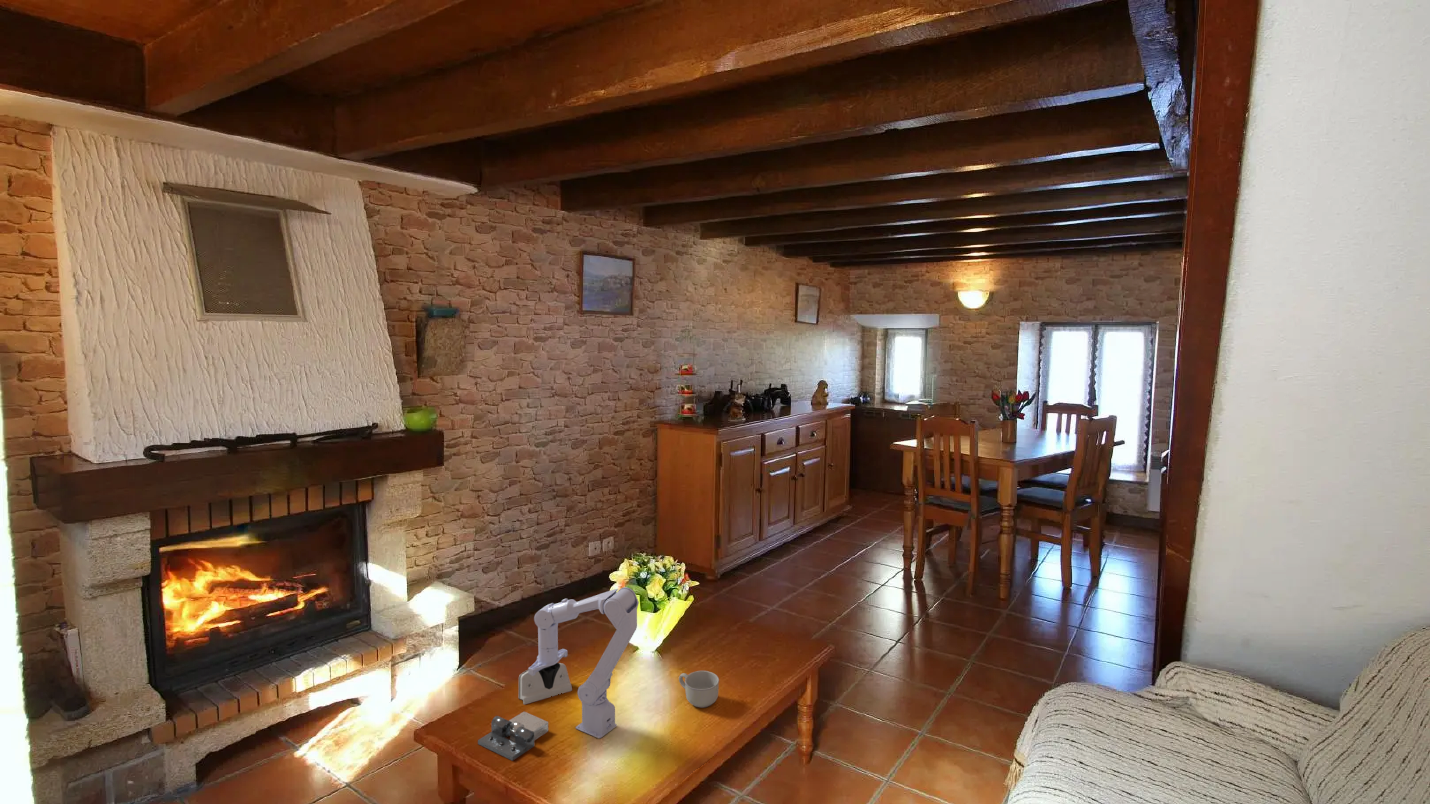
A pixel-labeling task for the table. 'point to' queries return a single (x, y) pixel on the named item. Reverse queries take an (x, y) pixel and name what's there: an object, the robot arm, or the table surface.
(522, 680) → the grey rounded slab
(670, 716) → the table surface
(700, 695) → the teacup
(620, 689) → the table surface
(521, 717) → the grey boxy piece
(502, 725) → the fixed leaf
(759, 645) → the table surface
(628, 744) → the table surface
